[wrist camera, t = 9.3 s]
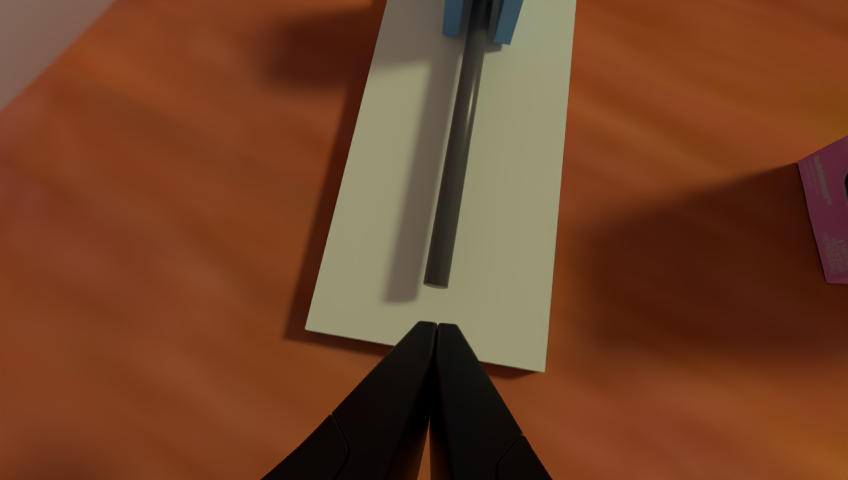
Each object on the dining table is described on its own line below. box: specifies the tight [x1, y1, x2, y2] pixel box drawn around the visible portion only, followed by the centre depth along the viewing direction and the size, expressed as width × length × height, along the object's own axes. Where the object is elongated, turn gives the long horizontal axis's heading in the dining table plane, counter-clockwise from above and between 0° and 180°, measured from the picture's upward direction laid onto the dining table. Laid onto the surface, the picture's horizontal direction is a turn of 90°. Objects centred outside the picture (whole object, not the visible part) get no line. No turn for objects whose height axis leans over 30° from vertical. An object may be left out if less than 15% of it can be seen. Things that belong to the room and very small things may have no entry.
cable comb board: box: [305, 0, 576, 372], centre depth 24 cm, size 30×12×6 cm, turn 170°
